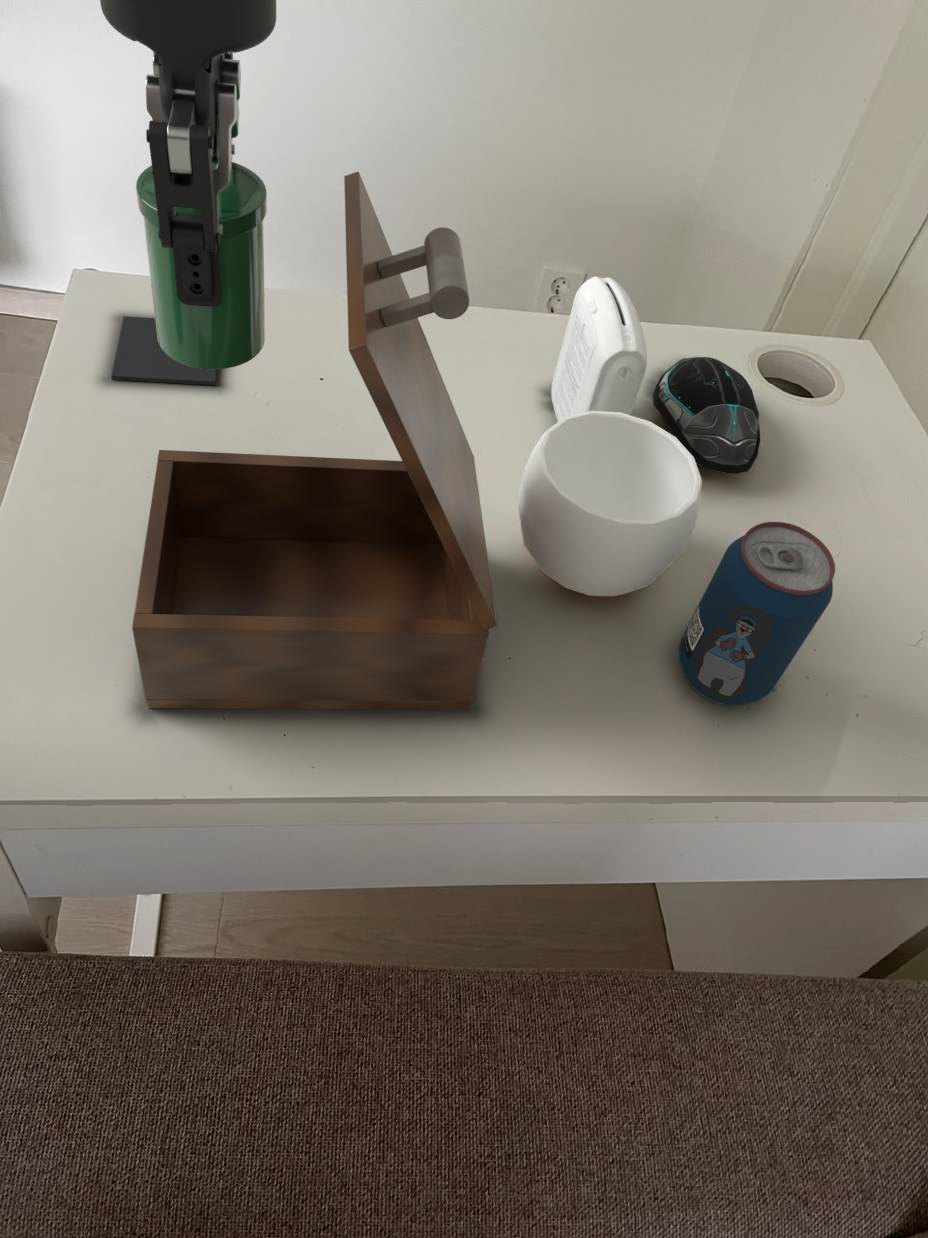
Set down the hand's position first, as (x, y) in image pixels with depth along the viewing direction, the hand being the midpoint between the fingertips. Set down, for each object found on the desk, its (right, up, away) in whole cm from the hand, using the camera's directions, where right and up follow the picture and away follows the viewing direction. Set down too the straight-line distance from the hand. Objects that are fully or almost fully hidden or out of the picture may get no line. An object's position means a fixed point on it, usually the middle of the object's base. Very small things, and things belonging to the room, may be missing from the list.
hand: (206, 262), depth 54 cm
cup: (+23, -15, +21) cm, 34 cm away
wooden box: (+4, -19, +13) cm, 24 cm away
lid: (+11, -8, +1) cm, 14 cm away
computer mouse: (+34, -3, +33) cm, 47 cm away
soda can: (+32, -23, +16) cm, 42 cm away
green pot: (-1, -3, +4) cm, 5 cm away
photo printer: (+24, -3, +30) cm, 38 cm away
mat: (-11, +3, +29) cm, 31 cm away
